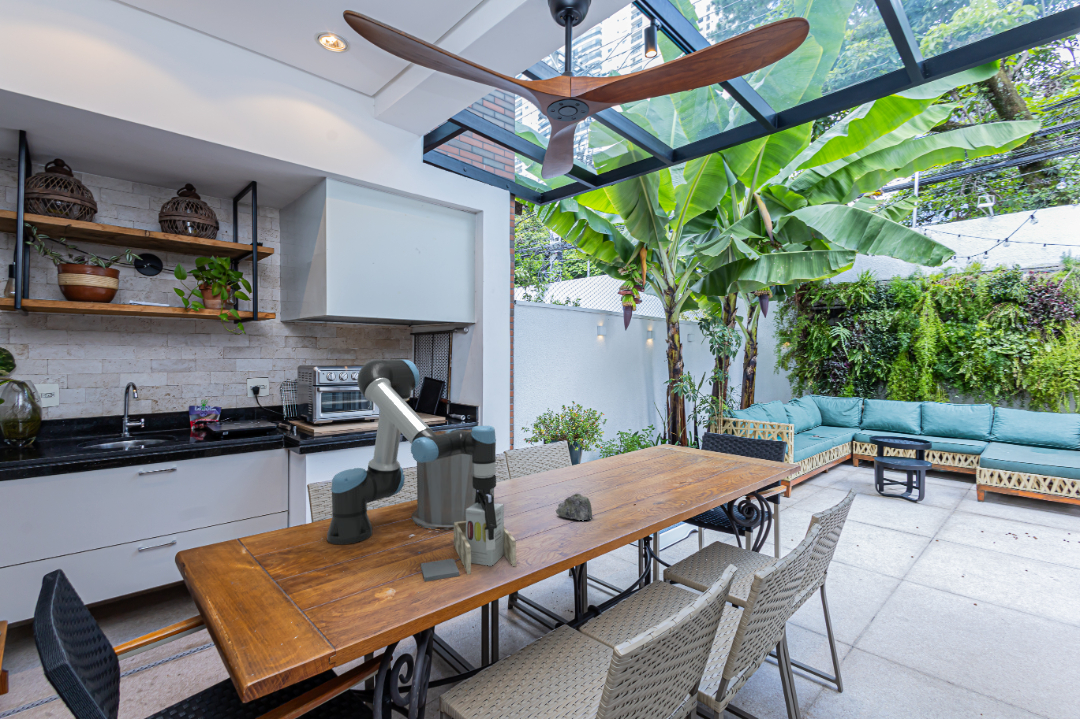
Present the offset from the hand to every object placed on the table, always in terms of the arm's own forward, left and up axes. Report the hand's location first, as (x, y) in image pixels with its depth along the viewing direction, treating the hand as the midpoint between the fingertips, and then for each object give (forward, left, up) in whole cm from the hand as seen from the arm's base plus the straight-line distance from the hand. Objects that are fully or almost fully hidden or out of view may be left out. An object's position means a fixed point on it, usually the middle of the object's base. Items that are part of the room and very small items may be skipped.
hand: (485, 541), depth 155 cm
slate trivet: (+4, -15, -6) cm, 17 cm away
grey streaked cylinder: (-45, -1, -6) cm, 45 cm away
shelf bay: (-3, 0, -6) cm, 6 cm away
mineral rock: (-24, +42, -6) cm, 49 cm away
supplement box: (0, 0, -6) cm, 6 cm away
